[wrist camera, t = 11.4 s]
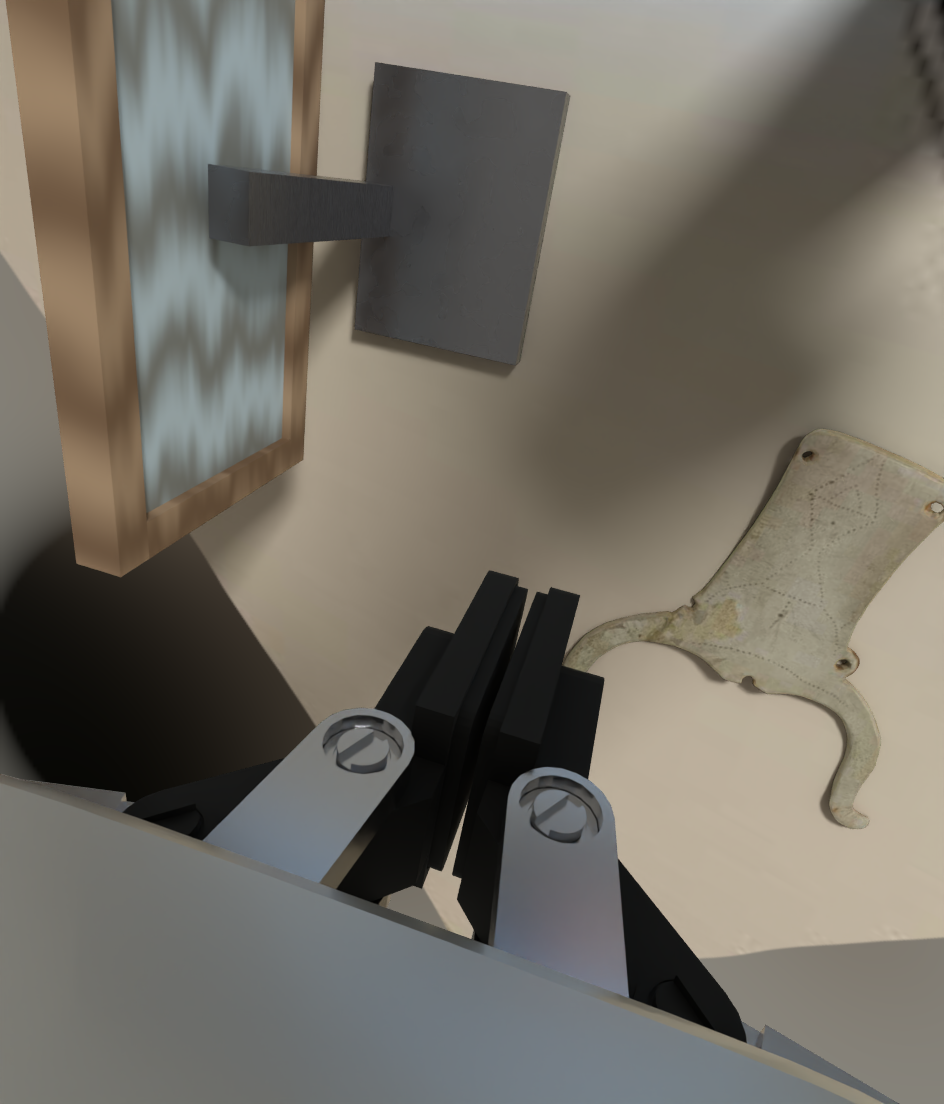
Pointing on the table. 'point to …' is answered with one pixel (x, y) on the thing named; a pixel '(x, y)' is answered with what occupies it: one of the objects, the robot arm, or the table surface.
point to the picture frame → (166, 253)
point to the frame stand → (424, 208)
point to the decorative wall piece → (803, 589)
